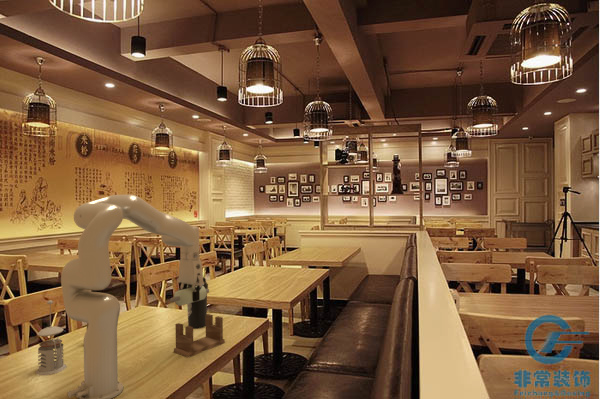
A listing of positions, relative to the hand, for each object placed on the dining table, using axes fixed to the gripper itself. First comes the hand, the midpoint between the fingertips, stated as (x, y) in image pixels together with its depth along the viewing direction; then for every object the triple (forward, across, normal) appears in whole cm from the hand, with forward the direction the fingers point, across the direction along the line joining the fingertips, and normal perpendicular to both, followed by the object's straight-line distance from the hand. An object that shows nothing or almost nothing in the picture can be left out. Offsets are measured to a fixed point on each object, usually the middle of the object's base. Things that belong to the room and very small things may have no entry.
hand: (190, 299), depth 169 cm
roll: (-2, 0, 0) cm, 2 cm away
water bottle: (+20, +19, -20) cm, 34 cm away
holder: (+20, -4, -1) cm, 20 cm away
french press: (+20, +24, +43) cm, 53 cm away
